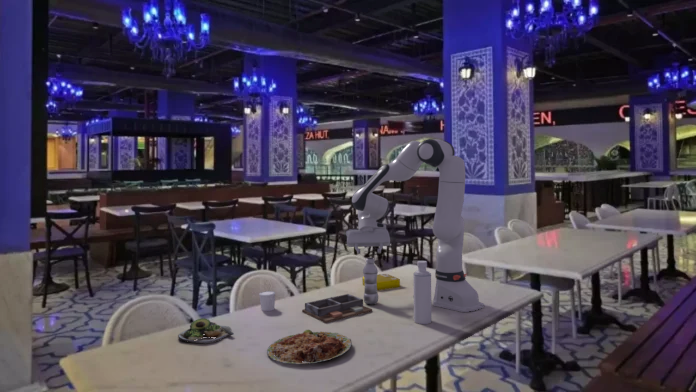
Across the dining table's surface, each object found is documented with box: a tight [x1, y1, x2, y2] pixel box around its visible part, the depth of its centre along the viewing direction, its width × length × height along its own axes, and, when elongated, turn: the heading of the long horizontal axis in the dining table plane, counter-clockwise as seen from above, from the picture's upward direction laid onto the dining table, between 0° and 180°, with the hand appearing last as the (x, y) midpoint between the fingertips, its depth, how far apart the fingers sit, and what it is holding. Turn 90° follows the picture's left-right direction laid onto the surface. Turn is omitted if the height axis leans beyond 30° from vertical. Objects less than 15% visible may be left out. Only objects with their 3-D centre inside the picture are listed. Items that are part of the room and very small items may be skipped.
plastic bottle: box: [362, 257, 379, 305], centre depth 208 cm, size 6×7×20 cm
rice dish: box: [266, 329, 352, 365], centre depth 158 cm, size 28×28×5 cm
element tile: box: [361, 273, 401, 292], centre depth 239 cm, size 15×15×5 cm
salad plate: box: [177, 318, 234, 344], centre depth 173 cm, size 19×18×5 cm
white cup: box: [258, 290, 276, 312], centre depth 204 cm, size 7×7×7 cm
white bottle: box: [413, 260, 432, 325], centre depth 183 cm, size 7×7×25 cm
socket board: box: [301, 293, 373, 324], centre depth 198 cm, size 18×23×4 cm
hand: (369, 253), depth 218 cm, fingers open, 8 cm apart
